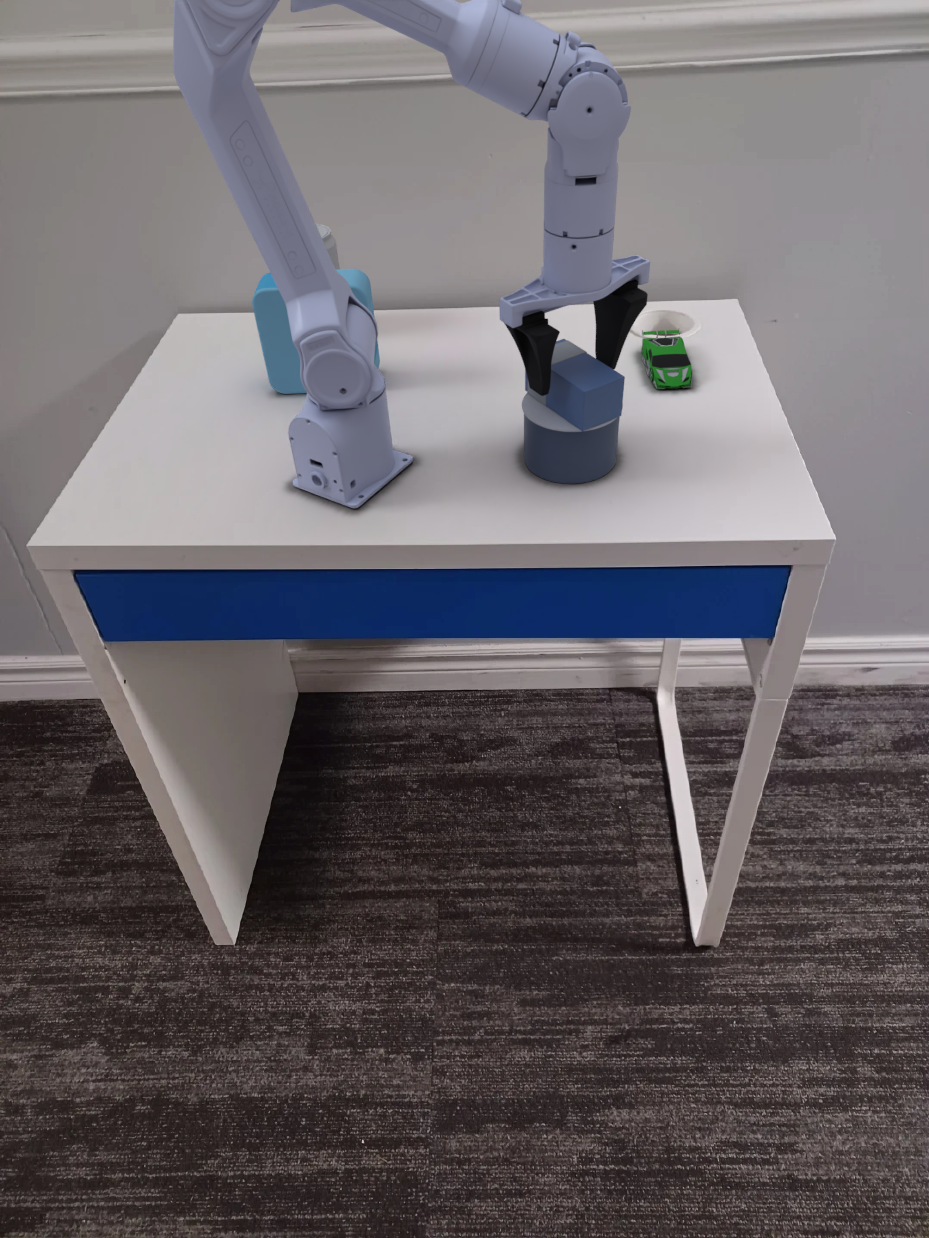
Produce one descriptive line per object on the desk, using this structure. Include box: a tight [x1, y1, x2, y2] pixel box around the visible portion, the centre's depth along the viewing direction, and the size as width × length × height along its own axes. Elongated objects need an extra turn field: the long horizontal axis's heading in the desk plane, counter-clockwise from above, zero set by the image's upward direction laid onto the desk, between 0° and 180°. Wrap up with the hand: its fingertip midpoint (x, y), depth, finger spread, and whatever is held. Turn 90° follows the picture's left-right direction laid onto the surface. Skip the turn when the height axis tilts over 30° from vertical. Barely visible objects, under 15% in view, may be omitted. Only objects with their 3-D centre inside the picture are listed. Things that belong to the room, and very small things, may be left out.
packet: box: [524, 338, 626, 431], centre depth 82 cm, size 5×9×4 cm, turn 32°
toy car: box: [641, 328, 693, 390], centre depth 98 cm, size 10×5×2 cm, turn 1°
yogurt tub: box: [521, 391, 624, 485], centre depth 85 cm, size 9×9×6 cm
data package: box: [251, 268, 381, 395], centre depth 96 cm, size 12×4×12 cm, turn 90°
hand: (572, 378), depth 81 cm, fingers open, 7 cm apart
